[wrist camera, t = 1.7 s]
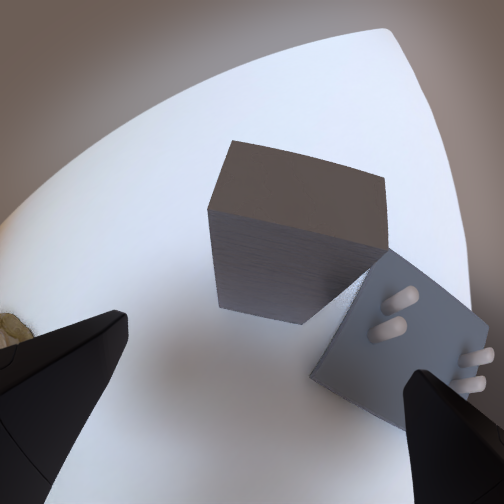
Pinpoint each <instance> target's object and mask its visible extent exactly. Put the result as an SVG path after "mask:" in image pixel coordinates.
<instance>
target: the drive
mask: <svg viewBox="0 0 504 504" xmlns="http://www.w3.org/2000/svg"><path fill="white" fill-rule="evenodd" d="M207 211H208V221H209V230H210V239H211V247H212V256H213V264H214V272H215V280H216V287H217V295H218V302H219V307H220V308H224V309H228V310H233V311H237V312H241V313H246V314H251V315H255V316H260V317H265V318H269V319H274V320H279V321H284V322H289V323H294V324H300V325H302V324H304V323H305V322H306V321H307V320H309V319H310V318H311V317H312V316H314V315H315V314H316V313H317V312H319V311H320V310H321V309H322V308H324V307H325V306H326V305H327V304H328V303H330V302H331V301H332V300H333V299H334V298H336V297H337V296H338V295H339V294H340V293H342V292H343V291H344V290H345V289H346V288H347V287H349V286H350V285H351V284H352V283H353V282H354V281H356V280H357V279H358V278H359V277H360V276H361V275H362V274H363V273H365V272H366V271H367V270H368V269H369V268H370V267H371V266H372V265H374V264H375V263H376V262H377V261H378V260H379V259H380V258H381V257H382V256H383V255H384V254H385V253H387V252H388V251H389V250H388V220H387V203H386V190H385V179H384V178H383V177H380V176H377V175H374V174H371V173H367V172H364V171H361V170H357V169H354V168H351V167H347V166H344V165H340V164H336V163H333V162H329V161H325V160H321V159H318V158H314V157H310V156H306V155H301V154H297V153H293V152H288V151H284V150H279V149H275V148H270V147H265V146H260V145H255V144H250V143H245V142H239V141H233V140H232V142H231V145H230V147H229V150H228V153H227V155H226V158H225V161H224V163H223V166H222V169H221V172H220V174H219V177H218V180H217V183H216V185H215V188H214V191H213V194H212V197H211V200H210V202H209V205H208V208H207Z"/></svg>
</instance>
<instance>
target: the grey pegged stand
mask: <svg viewBox="0 0 504 504" xmlns="http://www.w3.org/2000/svg"><path fill="white" fill-rule="evenodd" d="M388 250H389V251H388V252H387V253H385V254H384V255H383V256H382V257H381V258H380V259H379V260H378V261H377V262H376V263H375V264H374V265H372V266H371V268H370V270H369V272H368V274H367V276H366V278H365V280H364V282H363V284H362V286H361V288H360V290H359V292H358V294H357V296H356V298H355V300H354V302H353V303H352V305H351V307H350V309H349V311H348V313H347V315H346V316H345V318H344V320H343V322H342V324H341V325H340V327H339V329H338V331H337V332H336V334H335V336H334V338H333V339H332V341H331V343H330V344H329V346H328V348H327V349H326V351H325V353H324V354H323V356H322V358H321V359H320V361H319V362H318V364H317V366H316V367H315V369H314V370H313V372H312V374H311V375H310V378H311V379H313V380H314V381H316V382H318V383H319V384H321V385H323V386H324V387H326V388H328V389H329V390H331V391H333V392H334V393H336V394H338V395H340V396H341V397H343V398H345V399H346V400H348V401H350V402H352V403H353V404H355V405H357V406H359V407H360V408H362V409H364V410H366V411H368V412H369V413H371V414H373V415H375V416H377V417H379V418H381V419H382V420H384V421H386V422H388V423H390V424H392V425H394V426H396V427H398V428H400V429H402V430H404V431H406V428H405V414H404V403H403V389H404V386H405V385H406V383H407V382H408V380H409V379H410V377H411V376H412V374H413V372H414V371H415V370H417V369H426V370H428V371H430V372H431V373H432V374H434V375H435V376H436V377H437V378H439V379H440V380H441V381H442V382H444V383H445V384H446V385H448V386H449V387H450V388H451V389H453V390H454V391H455V392H456V393H458V394H459V395H460V396H461V397H463V398H464V399H465V400H467V398H468V395H469V393H472V392H481V391H483V390H484V388H485V386H486V379H485V377H484V376H478V377H475V375H476V373H477V370H478V366H479V365H482V364H486V363H490V362H492V361H493V359H494V350H493V349H492V348H491V347H490V348H486V349H484V345H485V342H486V338H487V333H488V329H489V326H488V325H487V324H486V323H485V322H483V321H482V320H481V319H480V318H479V317H478V316H477V315H475V314H474V313H473V312H472V311H471V310H469V309H468V308H467V307H466V306H465V305H463V304H462V303H461V302H460V301H459V300H457V299H456V298H455V297H454V296H452V295H451V294H450V293H449V292H447V291H446V290H445V289H444V288H442V287H441V286H440V285H439V284H437V283H436V282H435V281H433V280H432V279H431V278H429V277H428V276H427V275H426V274H424V273H423V272H422V271H420V270H419V269H418V268H416V267H415V266H414V265H412V264H411V263H409V262H408V261H407V260H405V259H404V258H403V257H401V256H400V255H398V254H397V253H396V252H394V251H393V250H391V249H390V248H389V247H388Z"/></svg>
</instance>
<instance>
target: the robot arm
mask: <svg viewBox="0 0 504 504" xmlns="http://www.w3.org/2000/svg"><path fill="white" fill-rule="evenodd" d="M128 336H129V334H128V316H127V314H126V313H124V312H121V311H118V310H112V311H109V312H106V313H103V314H100V315H97V316H95V317H92V318H89V319H86V320H83V321H80V322H77V323H75V324H72V325H69V326H66V327H63V328H60V329H57V330H55V331H52V332H49V333H46V334H43V335H40V336H37V337H34V338H31V339H29V340H26V341H23V342H20V343H19V344H14V345H11V346H8V347H5V348H2V349H0V504H44V502H45V500H46V498H47V496H48V494H49V492H50V490H51V488H52V485H53V483H54V481H55V479H56V477H57V475H58V473H59V471H60V469H61V467H62V466H63V464H64V462H65V460H66V458H67V456H68V454H69V452H70V450H71V448H72V447H73V445H74V443H75V441H76V439H77V437H78V436H79V434H80V432H81V430H82V428H83V427H84V425H85V423H86V421H87V419H88V418H89V416H90V414H91V412H92V411H93V409H94V407H95V405H96V404H97V402H98V400H99V399H100V397H101V395H102V393H103V392H104V390H105V388H106V387H107V385H108V383H109V381H110V379H111V377H112V375H113V373H114V370H115V368H116V366H117V364H118V361H119V359H120V357H121V355H122V353H123V350H124V348H125V346H126V344H127V341H128ZM403 403H404V414H405V428H406V436H407V443H408V449H409V456H410V464H411V472H412V481H413V491H414V504H504V430H503V429H502V428H500V427H499V426H498V425H496V424H495V423H494V422H493V421H491V420H490V419H489V418H488V417H486V416H485V415H484V414H483V413H481V412H480V411H479V410H478V409H477V408H475V407H474V406H473V405H472V404H470V403H469V402H468V401H467V400H465V399H464V398H463V397H461V396H460V395H459V394H458V393H456V392H455V391H454V390H453V389H451V388H450V387H449V386H448V385H446V384H445V383H444V382H442V381H441V380H440V379H439V378H437V377H436V376H435V375H434V374H432V373H431V372H430V371H428V370H426V369H417V370H415V371H414V372H413V374H412V376H411V377H410V379H409V380H408V382H407V383H406V385H405V386H404V389H403Z"/></svg>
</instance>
